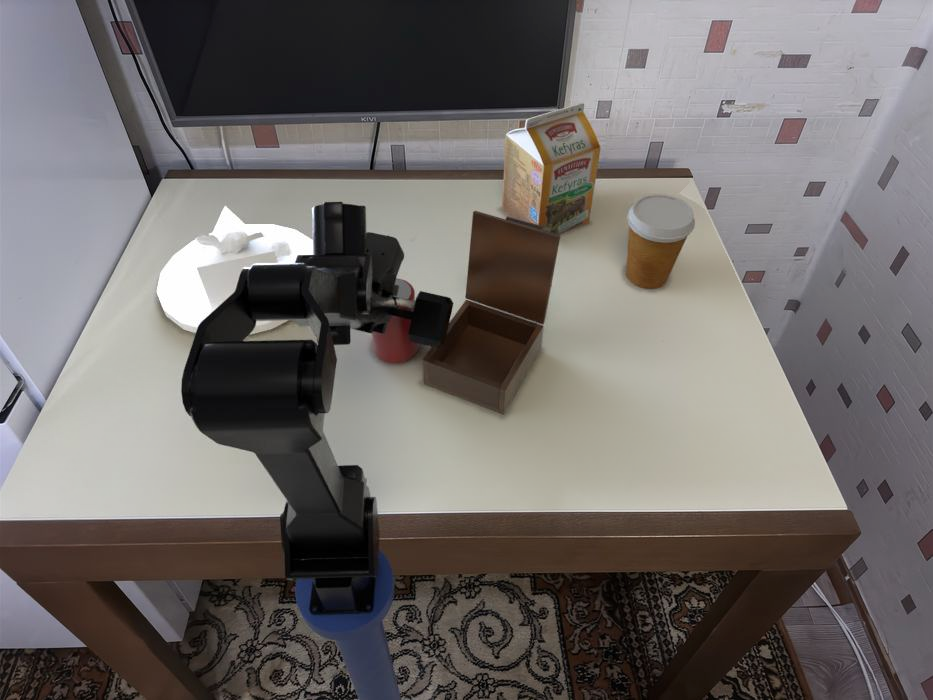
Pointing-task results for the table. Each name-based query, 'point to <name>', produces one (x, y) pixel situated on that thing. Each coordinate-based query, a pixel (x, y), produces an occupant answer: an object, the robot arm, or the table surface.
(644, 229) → the disposable coffee cup
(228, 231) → the dish
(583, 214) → the milk carton
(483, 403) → the chest
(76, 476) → the table surface
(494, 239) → the chest lid
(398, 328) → the can
